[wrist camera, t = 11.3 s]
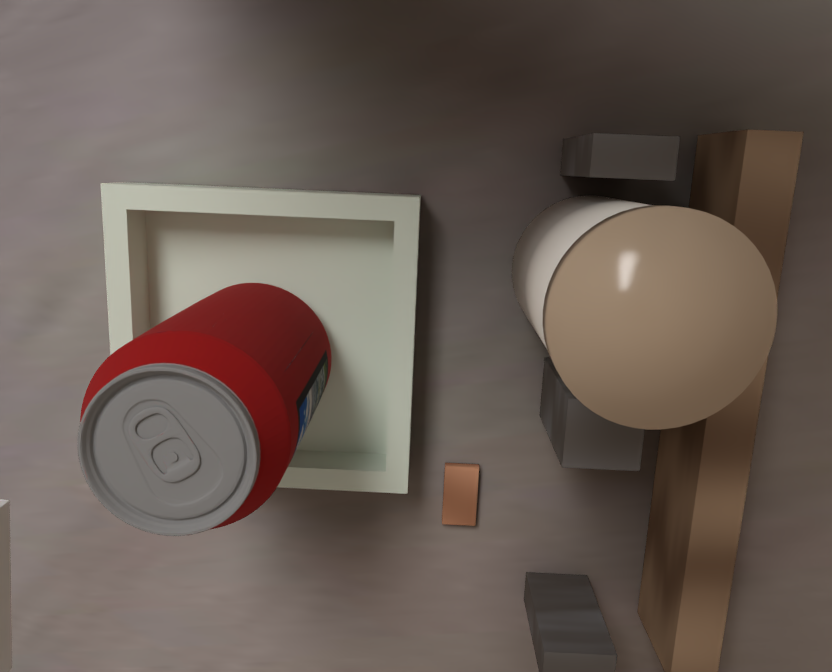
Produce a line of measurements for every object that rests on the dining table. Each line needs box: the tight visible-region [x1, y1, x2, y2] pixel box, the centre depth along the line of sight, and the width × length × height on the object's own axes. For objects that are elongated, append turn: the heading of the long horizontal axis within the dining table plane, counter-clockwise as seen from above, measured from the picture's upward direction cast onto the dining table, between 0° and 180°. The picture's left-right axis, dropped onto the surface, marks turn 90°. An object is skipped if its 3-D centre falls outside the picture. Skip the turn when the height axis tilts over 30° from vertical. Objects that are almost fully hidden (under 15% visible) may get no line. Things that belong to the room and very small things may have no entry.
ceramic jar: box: [512, 195, 777, 430], centre depth 27 cm, size 7×7×11 cm
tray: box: [101, 182, 421, 494], centre depth 32 cm, size 13×13×2 cm
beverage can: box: [78, 283, 332, 536], centre depth 27 cm, size 7×7×12 cm
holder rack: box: [442, 129, 804, 672], centre depth 31 cm, size 23×12×6 cm, turn 178°
